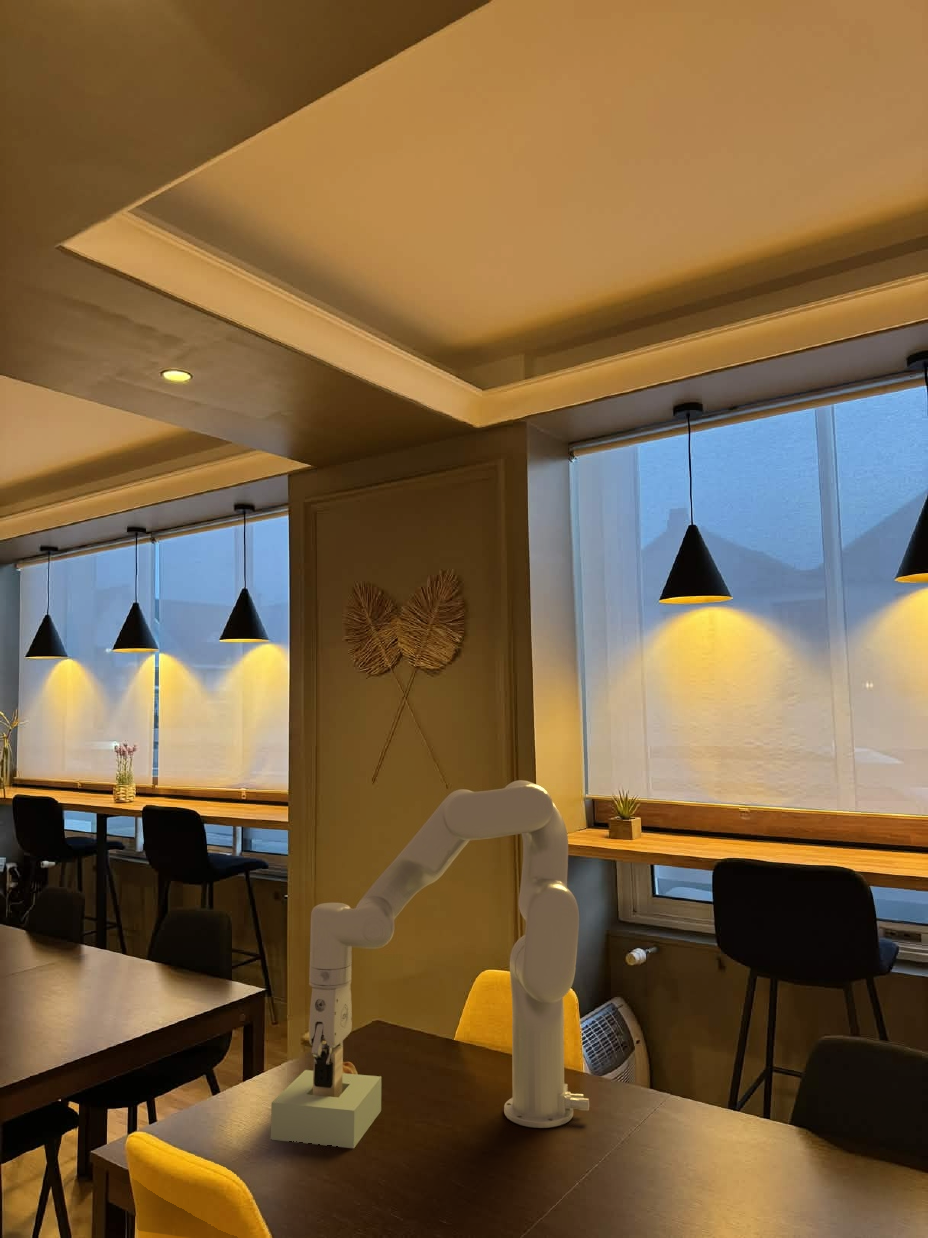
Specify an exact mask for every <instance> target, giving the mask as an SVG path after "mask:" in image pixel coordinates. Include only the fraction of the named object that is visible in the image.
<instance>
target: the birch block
mask: <svg viewBox="0 0 928 1238" xmlns="http://www.w3.org/2000/svg"><path fill="white" fill-rule="evenodd" d="M322 1051H325V1053H326V1055H327V1049H323V1048H322ZM343 1059H344V1046H343V1047H342V1046H336V1047H334V1048H332V1056H331V1063H333V1085H332V1087H331V1088H326V1087H316V1086H315V1085H314V1079H315V1063H314V1062H313V1070H312V1071H313V1095H318V1096H329V1097H339V1096H340V1095H341V1094H342V1074H343V1062H344V1060H343Z"/></svg>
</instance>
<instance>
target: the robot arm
mask: <svg viewBox="0 0 928 1238" xmlns="http://www.w3.org/2000/svg"><path fill="white" fill-rule="evenodd" d="M566 827H567V826H566V824H565V820H564V818H563V816H562V814H561V812H560V810H559V809H558V808H557V806H556V804H555V803H554V802H553V799H552V797H551V795H550V793H549V792H548V791H547V790H546V789H545V788H543V787H542V786H540V785H539V784H536V783H534V782H531V781H528V780H522V779H521V780H520V779H519V780H515V781H512V782H510V783H509V784H506V786H505V787H504V788H497V789H490V790H481V791H472V790H471V789H470V790H469V789H463V788H460V789H457V790H454V791H452V792H451V793H450V794H448V795H447V796H446V797H445V799H443V800H442V802H441V803H440V804H439V805H438V807H437V808H436V809H435V810H434V812H433V813H432V814H431V815H430V816H429V818H428V819H427V821H426V822H424V824H423V825H422V826H421V827H420V829H419V830H418V831H417V833H416V834H415V835H414V836H413V838H412V839H411V840H410V841H409V842H408V843H407V844H406V846H405V847H404V848H403V849H402V851H401V852H400V853H399V854H398V855H397V856H396V857H395V859H394V860H393V861H392V862H391V863H390V864H389V865H388V866H387V867H386V869H385V870H384V871H383V872H382V873H381V874H380V875H379V877H378V878H377V879H376V880H375V881H374V883H373V884H372V885H371V886H370V888H369V889H368V890H367V891H366V892H365V894H364V895H363V897H362V898H361V899H360V900H359V902H358V903H357V904H356V905H355V906H356V907H355V908H352V907H351V906H350V905H348V904H346V903H342V902H325V903H320V904H317V905H315V906H314V907H313V908H312V910H311V912H310V913H311V914H310V933H309V934H310V938H309V939H310V940H309V945H310V946H309V978H308V979H309V980H308V981H309V982H308V984H309V986H310V987H311V999H310V1006H309V1008H310V1009H309V1020H308V1021H309V1022H308V1023H309V1024H308V1027H309V1028H308V1037H309V1038H308V1039H309V1041H308V1042H309V1044H310V1045H311V1046H312V1048H311V1055H312V1056H313V1064H314V1063H315V1079H314V1085H315V1086H316V1087H326V1088H331V1087H332V1085H333V1063H331V1056H332V1048H334V1047H336V1046H342V1047H343V1048H344V1040H345V1039H346V1038H347V1037H348V1036H349V1035H350V1033H351V1031H352V1028H353V1013H352V1012H353V1011H352V1010H353V1009H352V991H351V984H352V963H353V962H352V960H353V959H352V958H353V957H352V956H353V954H352V953H353V951H352V950H353V948H361V949H370V950H376V949H380V948H383V947H384V946H386V945H388V944H389V942H391V940H392V938H393V936H394V933H395V926H396V925H395V920H396V918H398V916H399V914H400V913H401V912H402V911H403V909H404V908H405V907H406V906H407V904H408V903H409V902H410V901H411V900H412V899H413V898H414V896H415V895H416V894H417V893H419V892H420V891H422V889H424V888H425V887H427V886H429V885H431V884H433V883H435V882H436V881H438V880H439V879H440V878H441V877H442V876H443V874H444V873H446V871H447V870H448V869H449V868H450V866H451V865H452V863H453V862H454V861H455V859H456V858H457V857H458V856H459V854H460V853H461V852H462V850H463V849H464V848H465V847H466V846H467V845H468V843H469V842H470V841H477V840H485V839H486V840H487V839H494V838H495V839H496V838H503V837H507V836H508V837H509V836H512V835H513V836H515V835H520V834H521V836H522V837H521V838H522V843H523V846H522V847H523V852H522V854H523V855H522V869H521V870H522V871H521V879H520V887H519V894H518V895H519V896H518V909H519V912H520V915H521V917H522V918H523V919H524V921H525V932H524V934H523V935H522V936H521V937H519V938H518V939H517V941H516V942H515V943H514V945H513V946H512V948H511V951H510V956H509V974H510V975H509V977H510V988H511V1008H512V1009H511V1012H512V1013H511V1014H512V1015H511V1019H512V1021H511V1035H512V1036H511V1037H512V1038H511V1039H512V1040H511V1042H512V1043H511V1045H512V1046H511V1049H512V1050H511V1053H512V1056H511V1058H512V1060H511V1061H512V1063H511V1064H512V1065H511V1066H512V1070H511V1071H512V1078H511V1079H512V1080H511V1081H512V1082H511V1083H512V1097H511V1098H509V1099H508V1100H507V1101H506V1102H505V1103H504V1106H503V1112H504V1115H505V1117H506V1118H507V1119H508V1120H510V1121H511V1122H512V1123H515V1124H517V1125H520V1126H523V1127H527V1128H534V1129H537V1128H538V1129H548V1128H555V1127H560V1126H563V1125H565V1124H566V1123H568V1122H570V1121H571V1120H572V1118H573V1117H574V1109H575V1110H579V1111H589V1110H590V1099H589V1098H586V1097H584V1094H583V1093H571V1091H569V1090H568V1089H569V1087H568V1083H565V1044H564V1043H565V1041H564V1040H565V1039H564V1038H565V1037H564V1035H565V1031H564V1029H565V1028H564V1027H565V1016H564V1015H565V1010H564V997H565V996H567V994H568V993H569V991H570V990H571V988H572V986H573V984H574V980H575V976H576V975H575V974H576V969H577V968H576V965H577V953H578V943H579V942H578V941H579V928H580V912H579V911H580V910H579V906H578V905H579V904H578V902H577V899H576V897H575V896H574V894H573V892H572V891H571V890H570V889H569V888H568V869H569V864H568V863H569V839H568V830H567V828H566ZM323 1042H325V1043H323ZM322 1048H323V1049H327V1055H326V1053H325V1051H322Z"/></svg>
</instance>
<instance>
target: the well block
mask: <svg viewBox="0 0 928 1238" xmlns="http://www.w3.org/2000/svg"><path fill="white" fill-rule="evenodd" d="M381 1111H382V1076H381V1075H379V1076H377V1075H368V1074H367V1075H366V1074H365V1075H364V1074H346V1073H343V1074H342V1094H341V1095H340V1096H339V1097H329V1096H318V1095H313V1070H309V1069H304V1070H303V1072H301V1073H300V1074H299V1075H298V1076H297V1077H296V1078H295V1079H294V1080H293V1081H292V1082H291V1083H290V1084H289V1085H288V1086H287V1087H286V1088H285V1089H283V1090H282V1092H281V1093H280V1094H279V1095H277V1096H276V1097H275V1098H274V1100H272V1101H271V1111H270V1112H271V1115H270V1117H271V1118H270V1140H271V1139H272V1140H273V1141H281V1142H289V1141H292V1143H299V1142H303V1143H302V1144H308V1143H312V1144H311V1145H318V1144H320V1146H327V1145H332V1146H331V1147H336V1146H338V1147H339V1148H347V1149H355V1147H356V1146H357V1145H358V1143H359V1142H360V1141H361V1139H363V1136H364V1135H365V1134H366V1132H367V1131H368V1130H369V1128H370V1126H372V1124H373V1123H374V1121H375V1120H376V1118H377V1117H378V1116H379V1114H380V1113H381ZM272 1140H271V1141H272ZM293 1141H294V1142H293ZM296 1141H297V1142H296ZM338 1147H337V1148H338Z"/></svg>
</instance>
